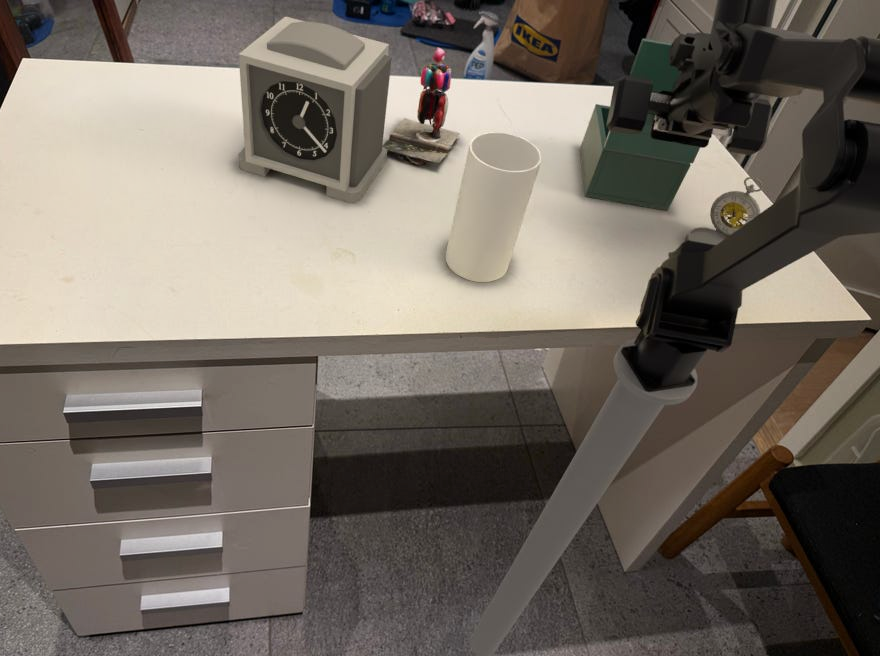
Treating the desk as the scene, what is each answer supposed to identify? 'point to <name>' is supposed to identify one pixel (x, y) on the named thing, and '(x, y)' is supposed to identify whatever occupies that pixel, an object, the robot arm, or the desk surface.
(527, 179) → the cup
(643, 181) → the panel
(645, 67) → the lid
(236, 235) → the desk surface
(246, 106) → the alarm clock
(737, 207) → the pocket watch
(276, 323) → the desk surface
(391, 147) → the statue
